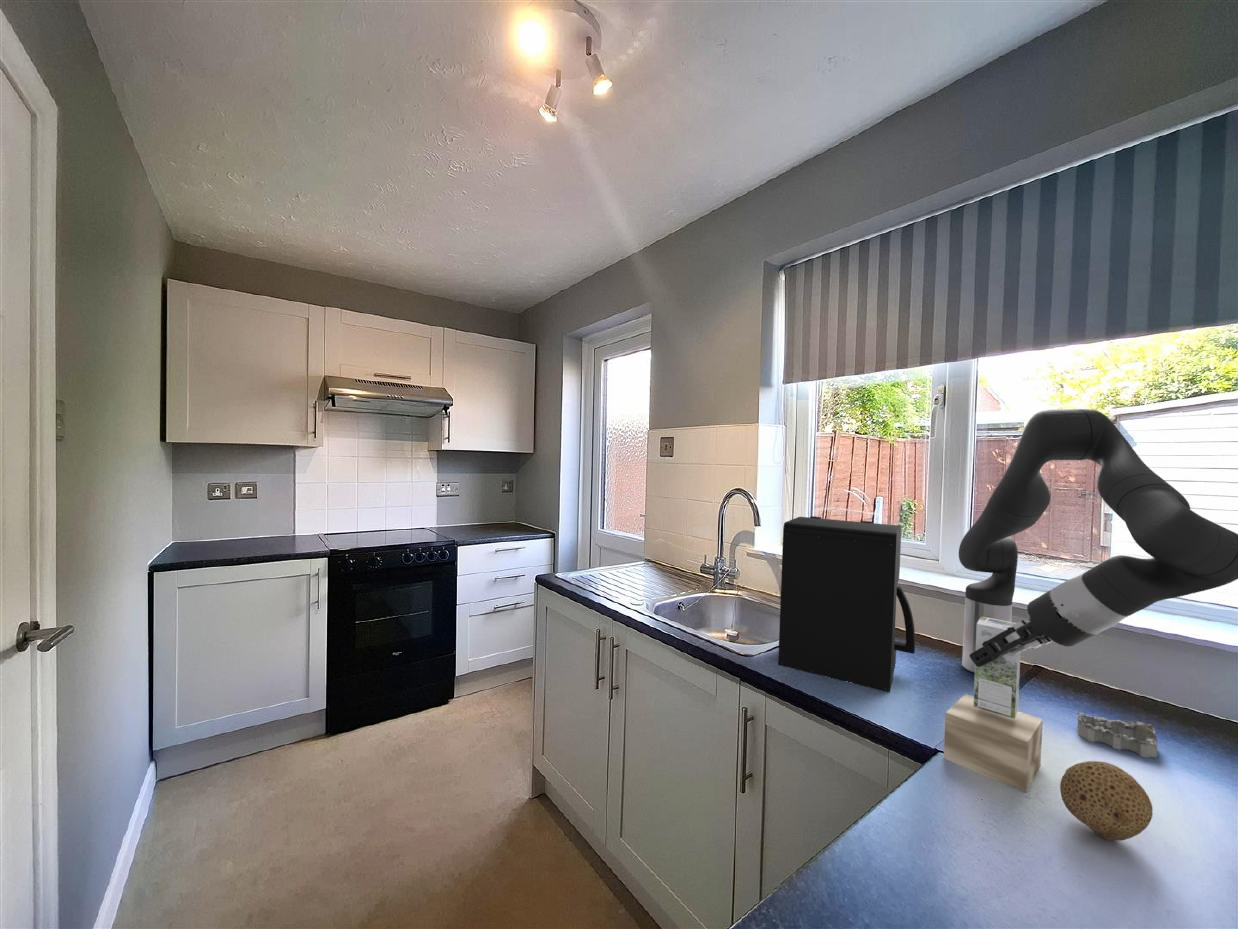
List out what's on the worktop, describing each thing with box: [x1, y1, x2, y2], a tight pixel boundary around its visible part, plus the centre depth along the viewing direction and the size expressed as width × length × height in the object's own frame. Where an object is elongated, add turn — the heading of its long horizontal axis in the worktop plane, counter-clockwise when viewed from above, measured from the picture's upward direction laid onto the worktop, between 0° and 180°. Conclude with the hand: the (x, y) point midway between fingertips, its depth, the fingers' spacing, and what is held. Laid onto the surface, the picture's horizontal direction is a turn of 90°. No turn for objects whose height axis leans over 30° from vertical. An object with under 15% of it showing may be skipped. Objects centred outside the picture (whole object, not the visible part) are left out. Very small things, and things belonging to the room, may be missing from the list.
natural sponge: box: [1059, 760, 1154, 842], centre depth 68 cm, size 9×9×10 cm
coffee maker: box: [777, 515, 916, 694], centre depth 121 cm, size 28×20×35 cm
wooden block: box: [943, 693, 1044, 793], centre depth 84 cm, size 11×11×8 cm
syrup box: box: [973, 617, 1022, 719], centre depth 84 cm, size 6×6×14 cm
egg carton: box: [1076, 711, 1159, 759], centre depth 92 cm, size 11×8×4 cm
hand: (987, 657), depth 85 cm, fingers closed on syrup box, 7 cm apart
